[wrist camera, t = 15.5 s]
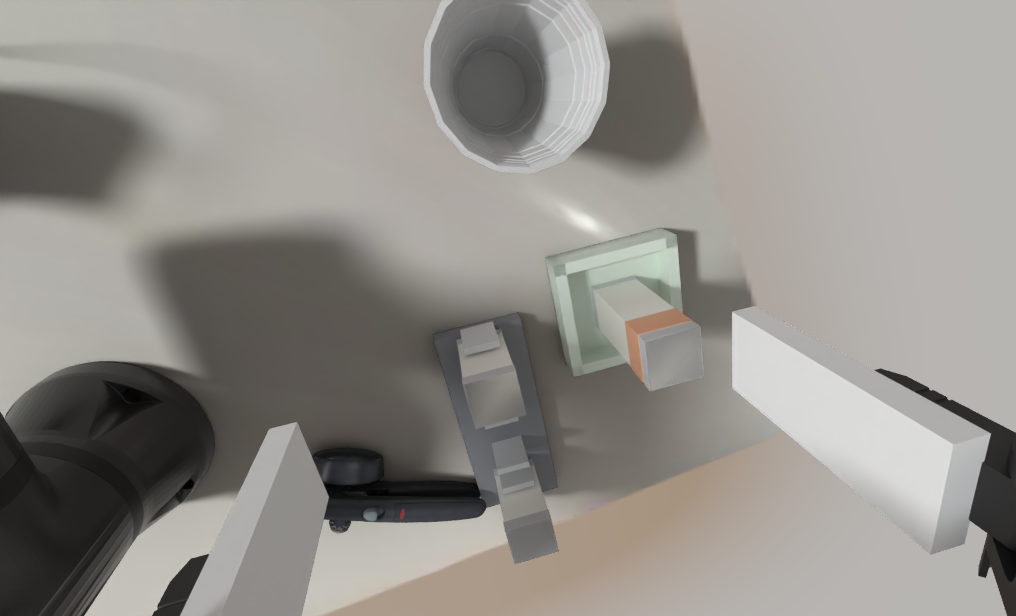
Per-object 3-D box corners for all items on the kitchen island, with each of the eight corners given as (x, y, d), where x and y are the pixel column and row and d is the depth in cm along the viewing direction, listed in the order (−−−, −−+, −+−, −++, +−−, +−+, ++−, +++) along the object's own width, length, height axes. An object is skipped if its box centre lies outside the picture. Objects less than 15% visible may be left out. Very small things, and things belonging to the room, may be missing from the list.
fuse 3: (596, 326, 46) (650, 391, 35) (589, 286, 44) (644, 341, 33) (637, 315, 46) (703, 376, 35) (632, 275, 45) (700, 326, 34)
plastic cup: (587, 75, 39) (652, 57, 28) (505, 186, 41) (535, 211, 30) (479, -28, 35) (503, -97, 24) (394, 99, 37) (382, 91, 26)
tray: (565, 362, 48) (573, 377, 45) (545, 257, 44) (553, 266, 41) (670, 333, 49) (685, 346, 46) (660, 227, 44) (676, 234, 42)
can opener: (303, 494, 49) (288, 538, 44) (315, 436, 47) (302, 476, 42) (472, 515, 53) (477, 558, 48) (491, 464, 51) (499, 503, 46)
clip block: (483, 500, 52) (490, 541, 47) (432, 330, 44) (433, 357, 39) (555, 480, 53) (569, 518, 48) (516, 308, 45) (528, 332, 40)
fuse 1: (467, 378, 45) (475, 429, 38) (456, 339, 44) (462, 384, 36) (510, 367, 45) (526, 414, 38) (500, 328, 44) (515, 370, 36)
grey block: (501, 499, 51) (514, 564, 43) (493, 469, 49) (505, 530, 42) (539, 489, 51) (558, 551, 44) (532, 458, 50) (550, 517, 42)
